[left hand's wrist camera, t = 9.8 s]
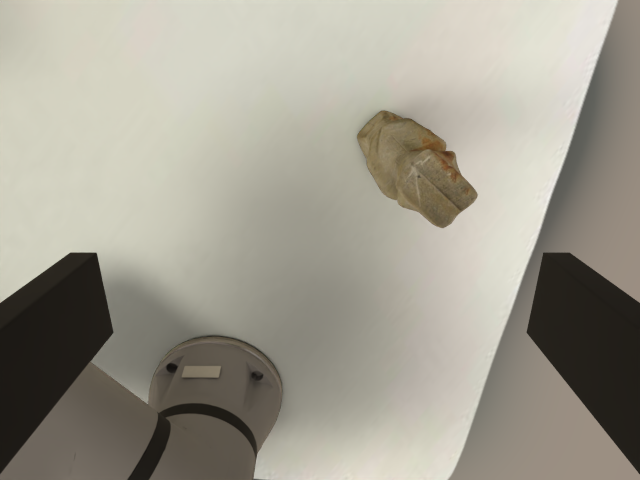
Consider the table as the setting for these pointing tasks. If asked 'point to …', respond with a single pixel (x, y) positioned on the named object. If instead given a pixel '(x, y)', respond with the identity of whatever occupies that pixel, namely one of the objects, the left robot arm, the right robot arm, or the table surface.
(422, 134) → the sculpture
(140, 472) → the left robot arm
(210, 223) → the table surface
